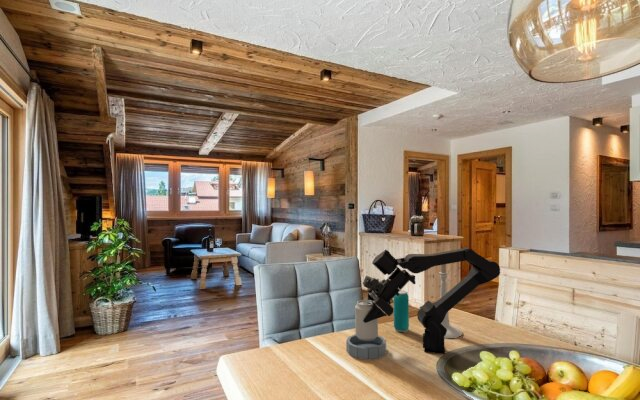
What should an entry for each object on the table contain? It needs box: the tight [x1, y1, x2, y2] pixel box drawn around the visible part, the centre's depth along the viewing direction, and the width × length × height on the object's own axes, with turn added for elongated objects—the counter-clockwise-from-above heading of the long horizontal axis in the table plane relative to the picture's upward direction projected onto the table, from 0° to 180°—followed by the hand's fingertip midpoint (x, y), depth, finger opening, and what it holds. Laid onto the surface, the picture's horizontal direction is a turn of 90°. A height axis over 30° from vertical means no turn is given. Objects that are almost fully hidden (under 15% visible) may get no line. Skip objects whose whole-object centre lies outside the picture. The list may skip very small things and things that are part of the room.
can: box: [354, 299, 379, 341], centre depth 118 cm, size 8×8×12 cm
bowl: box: [345, 333, 387, 361], centre depth 118 cm, size 13×13×4 cm
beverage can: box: [392, 289, 410, 333], centre depth 138 cm, size 6×6×15 cm
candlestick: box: [438, 264, 463, 339], centre depth 135 cm, size 13×13×30 cm
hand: (362, 318), depth 118 cm, fingers closed on can, 7 cm apart
